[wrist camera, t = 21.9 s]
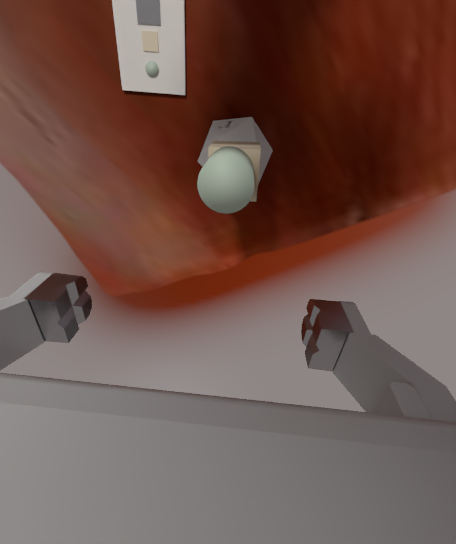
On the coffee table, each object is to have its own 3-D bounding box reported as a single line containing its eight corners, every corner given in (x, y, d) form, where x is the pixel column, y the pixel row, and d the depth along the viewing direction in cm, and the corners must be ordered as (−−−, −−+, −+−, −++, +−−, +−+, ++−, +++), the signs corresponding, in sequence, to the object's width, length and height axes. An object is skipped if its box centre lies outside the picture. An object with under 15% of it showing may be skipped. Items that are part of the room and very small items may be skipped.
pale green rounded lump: (197, 157, 27) (187, 168, 23) (244, 137, 26) (242, 145, 22) (216, 203, 29) (211, 220, 25) (260, 186, 28) (262, 202, 24)
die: (281, 135, 37) (258, 94, 29) (272, 200, 38) (247, 178, 29) (226, 139, 41) (191, 103, 32) (219, 198, 41) (182, 178, 32)
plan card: (110, -21, 30) (109, -23, 30) (184, -16, 30) (183, -17, 29) (123, 90, 35) (122, 90, 35) (185, 95, 35) (185, 95, 35)
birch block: (214, 140, 31) (208, 147, 26) (259, 142, 30) (260, 149, 26) (214, 186, 33) (208, 199, 29) (255, 188, 33) (256, 201, 29)
